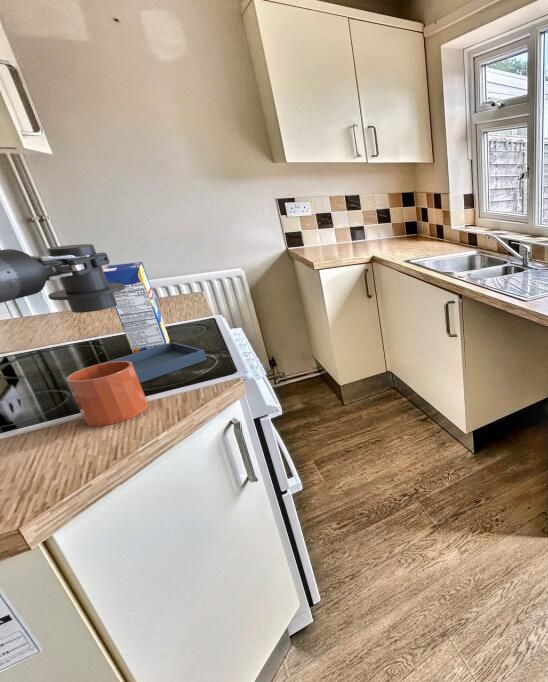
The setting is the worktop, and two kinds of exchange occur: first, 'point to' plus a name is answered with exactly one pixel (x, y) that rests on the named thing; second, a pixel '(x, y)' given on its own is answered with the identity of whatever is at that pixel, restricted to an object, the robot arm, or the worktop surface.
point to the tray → (163, 360)
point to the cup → (108, 392)
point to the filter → (84, 284)
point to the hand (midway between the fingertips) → (87, 258)
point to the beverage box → (137, 307)
